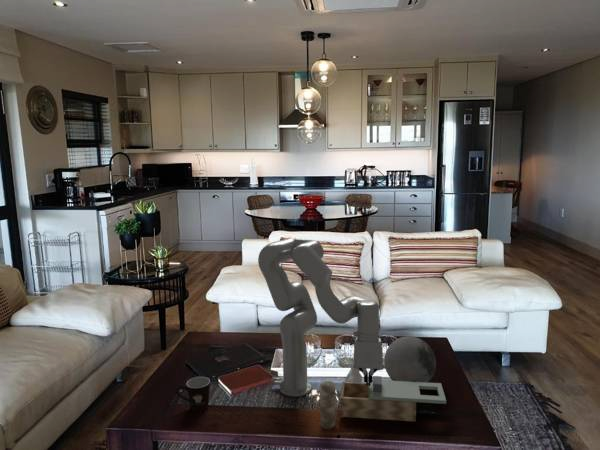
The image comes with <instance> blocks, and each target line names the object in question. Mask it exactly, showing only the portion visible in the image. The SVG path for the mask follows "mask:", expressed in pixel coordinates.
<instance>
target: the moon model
mask: <svg viewBox="0 0 600 450" xmlns="http://www.w3.org/2000/svg"><path fill="white" fill-rule="evenodd" d="M383 363H384V368H385V369H384V370H385V371H386V374H387V375H388V377H389V379H390V380H391V381H407V382H426V383H430V381H431V380H432V378H433V377H434V375H435V372H436V368H437V360H436V356H435V354H434V351H433V349H432V348H431V347H430V345H429V344H428V343H426V341H424V340H422V339H421V338H419V337H416V336H410V335H409V336H402V337H399V338H396V339H395V340H394V341H392V342H391V343H389V345H388V347H387V348H386V351H385V353H384V357H383Z"/></svg>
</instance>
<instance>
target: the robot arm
mask: <svg viewBox="0 0 600 450" xmlns="http://www.w3.org/2000/svg"><path fill="white" fill-rule="evenodd" d="M324 252H325V251H324V248H323V246H322V245H321V243H320V242H318V241H316V240H313V239H304V238H303V239H302V238H296V237H295V238H293V237H288V238H284V239H281V240H277V241H273V242H270V243H268V244H266V245H265V246H263V247H262V249H261V250H260V251H259V253H258V256H257V257H258V258H257V260H258V261H257V263H258V266H259V269H260V272H261V273H262V275H263V278H264V281H265V282H266V285H267V287H268V291H269V293H270V296H271V298H272V301H273V304H274V306H275V308H276V309H277V310H279V311H280V312H286V311H290V310H291V309H293V311H291V312H289V313H288V314H286V315H284V316H283V317H282V318H281V320H280V323H279V331H280V332H279V333H280V336H281V345H282V375H283V376H281V377H277V376H273V377H272V382H273V383H274V385H275V386H277V385H279V392H280V393H281V394H283V395H285V396H287V397H292V398H293V397H294V398H295V397H302V396H305V395H308V394H309V393H310V392H311V391H312V385H311V383H310V381H308V353H307V352H308V349H307V341H306V340H305V338H304V337H305V336H304V334H306V333H307V332H308V331H310V330H312V329H314V328H315V327H316V325H317V322H318V314H317V312H316V308H315V306H314V303H313V300H312V298H311V296H310V293H309V291H308V289H307V287H306V286H305V285H304V284H303V283H302V282H300V281H296V280H295V281H291V282H290V280H289V277H288V274H287V273H286V271H285V269H284V268H283V267H281V266H280V264H281V263H284V262H288V261H290V260H292V261H293V263H294V264H295V265H296V266H297V268H298V269H299V270H300V271H301V272H302V273H303V274H304V276H305V277H306V278H307V279H308V281H310V283H311V284H312V286H313V287H314V289H315V296H316V298H317V302H318V303H319V306H320V307H321V309H322V310H323V311H324V312H325V313H326V314H327V316H329V318H330V319H331V320H332V321H334V322H335V323H337V324H343V325H344V324H346V323H348V322H349V321H351V320H353V319H355V318H357V324H356V325H357V326H356V327H357V330H356V331H353V334H352V335H353V336H354V337H355V340H354V346H353V363H354V364H353V363H352V364H353V368H355V369H359V370H360V371H359V372H361V373H362V374H363V383H366V386H367V385H369V386H370V383H372V380H373V376H374V374H375V373H376V372H377V371H382V370H384V365H383V363H384V357H383V355H384V354H383V352H384V351H383V344H382V340H381V338H380V305H379V303H378V302H377V301H376V300H371V299H365V298H364V299H363V298H362V297H359V296H355V295H349V296H346V297H345V298H343V299H341V300H340V299H339V298H338V297H337V296H336V294H335V293H334V292H333V289H332V287H331V280H332V276H333V270H332V269H331V267H329V265H327V264H326V262H324V260H323V259H322V258H323V257H324V255H325V254H324ZM367 369H369V371H368V370H367Z"/></svg>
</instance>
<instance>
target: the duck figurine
mask: <svg viewBox="0 0 600 450" xmlns="http://www.w3.org/2000/svg"><path fill="white" fill-rule="evenodd" d="M353 364H354V362H352V363H351V366H350V370H349V372H348V373H347V375H346V377H345V379H344V382H360V383H363V382H362V380H363V379H362V378H363V376H362V374H361V373H360V372H361V371H360V370H359V369H355V368H353Z"/></svg>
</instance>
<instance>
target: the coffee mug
mask: <svg viewBox="0 0 600 450" xmlns="http://www.w3.org/2000/svg"><path fill="white" fill-rule="evenodd" d="M180 389H184V390H185V391H186V392H187V396H188V398H187V397H185V396H183V395H181V393H180V392H179V390H180ZM210 390H211V380H210V378H209V377H206V376H195V377H192V378H190V379H188V380H187V382H186V386H184V385H183V386H179V387H178V388H177V389H176V395H177V396H179V397H180V398H181V399H183V400H185V401H187V402H188V403H189V407H190V410H191V409H192V410H194V411H201V410H204V409H206V408H207V407H208V408H209V401H210ZM208 408H207V409H208ZM207 409H206V410H207ZM192 410H191V411H192ZM194 411H193V412H194ZM204 411H205V410H204ZM201 412H202V411H201Z"/></svg>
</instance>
